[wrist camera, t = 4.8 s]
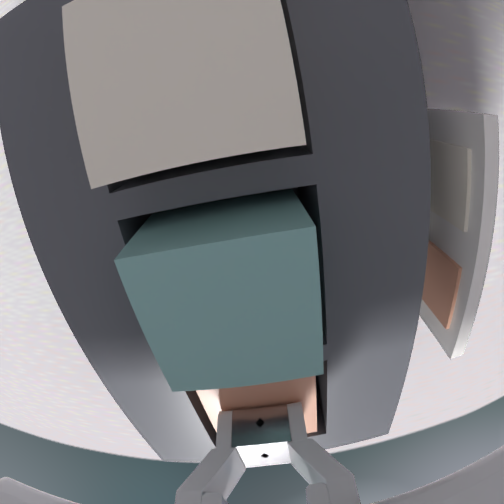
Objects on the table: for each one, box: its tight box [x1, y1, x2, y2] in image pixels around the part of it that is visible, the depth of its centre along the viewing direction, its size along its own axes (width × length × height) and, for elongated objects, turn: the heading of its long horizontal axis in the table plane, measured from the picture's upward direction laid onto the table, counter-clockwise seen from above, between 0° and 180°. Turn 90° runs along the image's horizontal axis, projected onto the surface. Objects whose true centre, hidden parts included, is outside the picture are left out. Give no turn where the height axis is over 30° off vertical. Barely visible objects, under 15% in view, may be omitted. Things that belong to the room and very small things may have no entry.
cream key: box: [62, 0, 306, 189], centre depth 6 cm, size 4×4×3 cm
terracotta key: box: [196, 376, 317, 433], centre depth 12 cm, size 4×4×3 cm
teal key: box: [114, 189, 324, 392], centre depth 8 cm, size 4×4×3 cm
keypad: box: [0, 0, 499, 462], centre depth 9 cm, size 13×19×5 cm
